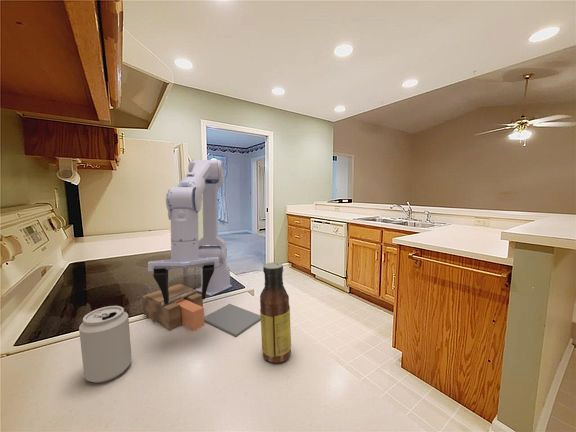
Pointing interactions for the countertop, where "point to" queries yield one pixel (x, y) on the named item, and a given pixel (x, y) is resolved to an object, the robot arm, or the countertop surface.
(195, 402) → the countertop surface
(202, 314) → the orange clay brick
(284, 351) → the sauce bottle
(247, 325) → the mat
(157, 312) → the brown wooden stand
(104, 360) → the can
